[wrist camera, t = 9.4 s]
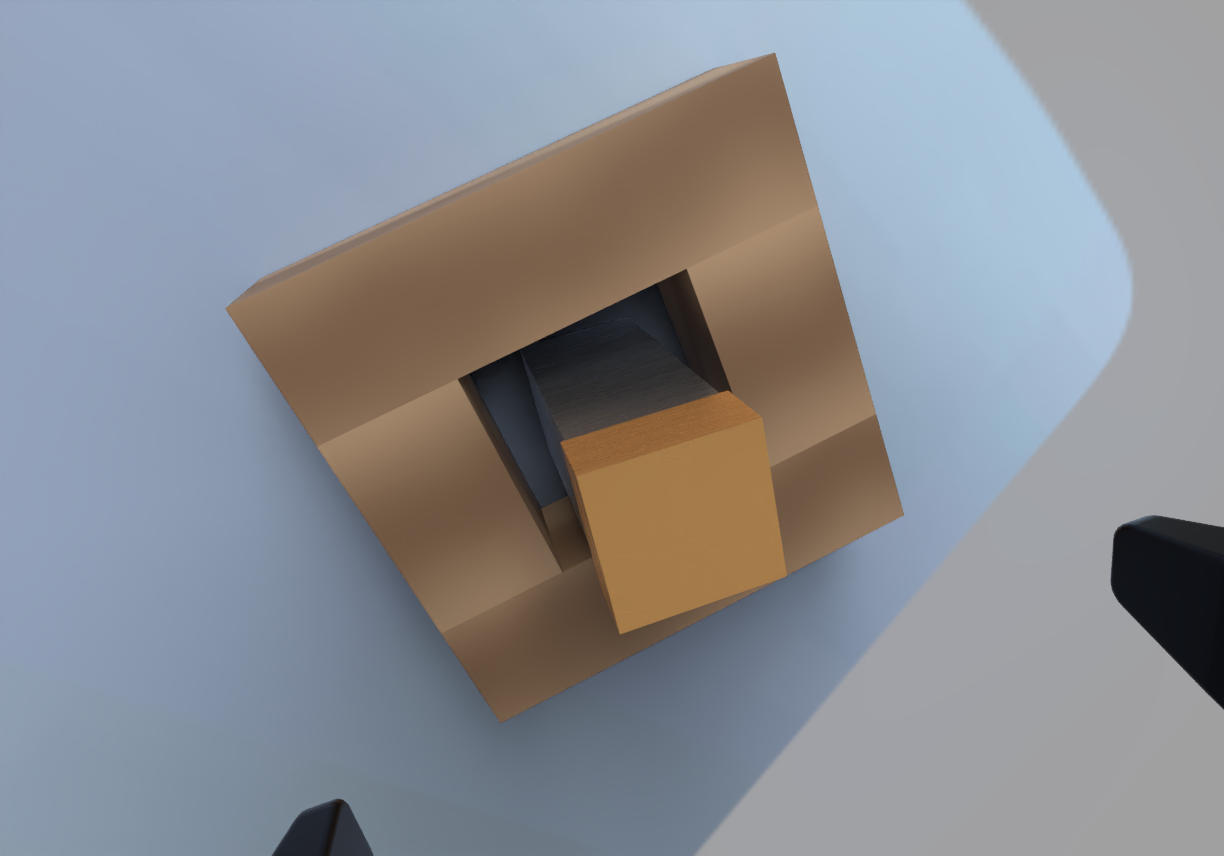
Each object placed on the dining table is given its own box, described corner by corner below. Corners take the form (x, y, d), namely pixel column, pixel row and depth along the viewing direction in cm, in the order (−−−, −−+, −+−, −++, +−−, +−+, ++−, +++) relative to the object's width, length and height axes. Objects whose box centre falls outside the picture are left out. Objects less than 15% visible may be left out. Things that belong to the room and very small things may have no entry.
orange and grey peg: (629, 312, 20) (762, 417, 12) (653, 419, 21) (787, 576, 14) (514, 345, 20) (575, 476, 12) (545, 452, 21) (619, 634, 13)
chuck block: (837, 464, 23) (904, 515, 20) (489, 640, 22) (500, 723, 19) (713, 68, 18) (775, 52, 15) (260, 278, 18) (225, 308, 14)
